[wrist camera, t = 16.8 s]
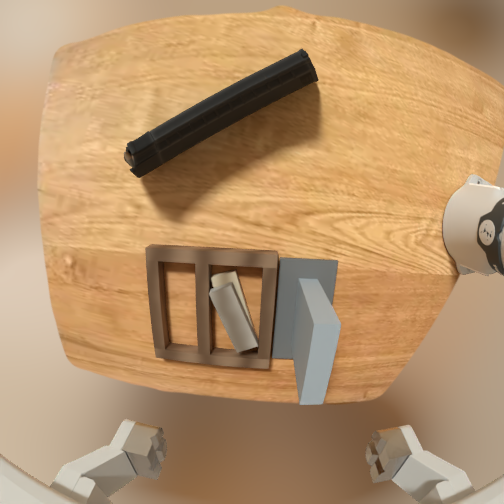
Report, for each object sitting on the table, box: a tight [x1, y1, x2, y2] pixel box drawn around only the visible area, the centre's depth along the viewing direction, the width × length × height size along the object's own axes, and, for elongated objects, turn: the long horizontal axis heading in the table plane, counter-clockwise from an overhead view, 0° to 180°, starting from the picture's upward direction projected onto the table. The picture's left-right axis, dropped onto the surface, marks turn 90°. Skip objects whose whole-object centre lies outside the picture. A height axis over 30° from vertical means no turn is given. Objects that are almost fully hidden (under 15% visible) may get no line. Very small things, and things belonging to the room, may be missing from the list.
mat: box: [272, 257, 338, 359], centre depth 45 cm, size 9×18×1 cm, turn 177°
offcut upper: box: [209, 282, 258, 353], centre depth 43 cm, size 4×11×2 cm, turn 21°
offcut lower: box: [211, 269, 258, 348], centre depth 45 cm, size 4×13×2 cm, turn 15°
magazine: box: [124, 49, 318, 178], centre depth 33 cm, size 17×3×30 cm
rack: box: [146, 244, 278, 369], centre depth 44 cm, size 20×20×2 cm
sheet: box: [291, 278, 341, 405], centre depth 37 cm, size 3×12×15 cm, turn 177°
